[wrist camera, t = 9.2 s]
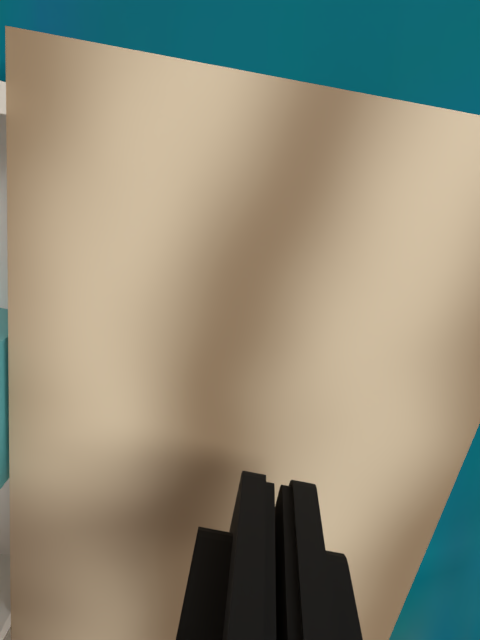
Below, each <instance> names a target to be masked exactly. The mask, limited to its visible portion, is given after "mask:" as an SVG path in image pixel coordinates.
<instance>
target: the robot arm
mask: <svg viewBox="0 0 480 640" xmlns="http://www.w3.org/2000/svg"><path fill="white" fill-rule="evenodd" d="M176 640H363V638H362V633H361V627H360V622H359V617H358V612H357V607H356V602H355V596H354V591H353V586H352V581H351V576H350V571H349V565H348V562H347V558H346V556H345V555H344V554H343V553H337V552H332V551H327V550H325V543H324V536H323V529H322V522H321V515H320V508H319V501H318V493H317V487H316V485H315V484H312V483H307V482H302V481H296V480H291V481H290V483H289V486H287V485H281V486H280V489H279V493H278V497H277V501H276V505H275V485H274V483H271V482H266V475H264V474H259V473H254V472H248V471H242V473H241V478H240V483H239V487H238V492H237V497H236V502H235V506H234V511H233V516H232V521H231V525H230V530H229V532H225V531H220V530H215V529H209V528H204V527H198V531H197V536H196V541H195V546H194V551H193V556H192V561H191V566H190V571H189V576H188V581H187V586H186V591H185V596H184V601H183V606H182V611H181V616H180V621H179V626H178V631H177V636H176Z"/></svg>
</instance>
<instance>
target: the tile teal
mask: <svg viewBox="0 0 480 640" xmlns="http://www.w3.org/2000/svg"><path fill="white" fill-rule="evenodd" d="M8 479H9V374H8V309H4V308H0V489H1V488H2V487H3V485H4V484H5V483H6V481H7V480H8Z"/></svg>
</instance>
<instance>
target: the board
mask: <svg viewBox="0 0 480 640" xmlns="http://www.w3.org/2000/svg"><path fill="white" fill-rule="evenodd" d="M5 33H6V146H7V260H8V374H9V488H10V601H11V640H176V636H177V631H178V626H179V621H180V616H181V611H182V606H183V601H184V596H185V591H186V586H187V581H188V576H189V571H190V566H191V561H192V556H193V551H194V546H195V541H196V536H197V531H198V527H204V528H209V529H215V530H220V531H225V532H229V530H230V525H231V521H232V516H233V511H234V506H235V502H236V497H237V492H238V487H239V483H240V478H241V473H242V471H248V472H254V473H259V474H264V475H266V482H271V483H274V485H275V505H276V501H277V497H278V493H279V489H280V486H281V485H287V486H289V483H290V481H291V480H296V481H302V482H307V483H312V484H315V485H316V487H317V493H318V501H319V508H320V515H321V522H322V529H323V536H324V543H325V550H327V551H332V552H337V553H343V554H344V555H345V556H346V558H347V562H348V565H349V571H350V576H351V581H352V586H353V591H354V596H355V602H356V607H357V612H358V617H359V622H360V627H361V633H362V638H363V640H389V638H390V635H391V633H392V630H393V628H394V626H395V623H396V621H397V619H398V616H399V614H400V611H401V609H402V607H403V604H404V602H405V600H406V597H407V595H408V592H409V590H410V588H411V585H412V583H413V580H414V578H415V576H416V573H417V571H418V569H419V566H420V564H421V561H422V559H423V557H424V554H425V552H426V550H427V547H428V545H429V542H430V540H431V538H432V535H433V533H434V530H435V528H436V526H437V523H438V521H439V519H440V516H441V514H442V511H443V509H444V507H445V504H446V502H447V500H448V497H449V495H450V492H451V490H452V488H453V485H454V483H455V480H456V478H457V476H458V473H459V471H460V469H461V466H462V464H463V461H464V459H465V457H466V454H467V452H468V450H469V447H470V445H471V442H472V440H473V438H474V435H475V433H476V430H477V428H478V426H479V423H480V115H475V114H470V113H465V112H459V111H454V110H449V109H443V108H438V107H433V106H428V105H422V104H417V103H412V102H406V101H401V100H396V99H390V98H385V97H380V96H375V95H369V94H364V93H359V92H353V91H348V90H343V89H338V88H332V87H327V86H322V85H316V84H311V83H306V82H300V81H295V80H290V79H285V78H279V77H274V76H269V75H263V74H258V73H253V72H248V71H242V70H237V69H232V68H226V67H221V66H216V65H211V64H205V63H200V62H195V61H189V60H184V59H179V58H173V57H168V56H163V55H158V54H152V53H147V52H142V51H136V50H131V49H126V48H121V47H115V46H110V45H105V44H99V43H94V42H89V41H83V40H78V39H73V38H68V37H62V36H57V35H52V34H46V33H41V32H36V31H31V30H25V29H20V28H15V27H9V26H5Z"/></svg>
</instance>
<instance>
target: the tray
mask: <svg viewBox="0 0 480 640" xmlns="http://www.w3.org/2000/svg"><path fill="white" fill-rule="evenodd" d="M0 308H4V309H8V260H7V146H6V82H3V81H0ZM10 626H11V601H10V488H9V479H8V480H7V481H6V483H5V484H4V485H3V487H2V488H1V489H0V640H3V639H4V637H5V636H6V634H7V632H8V630H9V628H10Z"/></svg>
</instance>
